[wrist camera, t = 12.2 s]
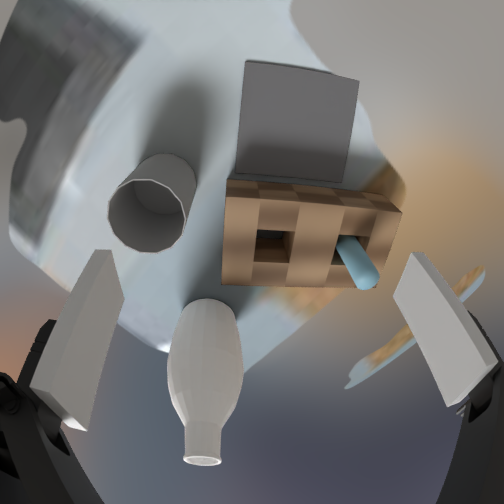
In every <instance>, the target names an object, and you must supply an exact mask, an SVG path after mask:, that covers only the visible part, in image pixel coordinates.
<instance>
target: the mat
mask: <svg viewBox="0 0 504 504" xmlns="http://www.w3.org/2000/svg"><path fill="white" fill-rule="evenodd" d="M358 88H359V81H357V80H354V79H349V78H345V77H341V76H337V75H332V74H327V73H322V72H317V71H312V70H306V69H300V68H294V67H287V66H280V65H272V64H263V63H253V62H245V69H244V79H243V90H242V100H241V111H240V122H239V133H238V145H237V157H236V169H235V173H245V174H259V175H272V176H283V177H294V178H304V179H313V180H322V181H330V182H338V183H342V178H343V173H344V168H345V163H346V158H347V153H348V148H349V142H350V137H351V131H352V126H353V120H354V114H355V108H356V101H357V95H358Z"/></svg>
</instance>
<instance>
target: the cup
mask: <svg viewBox="0 0 504 504" xmlns="http://www.w3.org/2000/svg"><path fill="white" fill-rule="evenodd" d="M196 186H197V183H196V179H195V175H194V171H193V170H192V168H191V167H190V166H189V165H188V163H187V162H186V161H185V160H184V159H182V158H180V157H177V156H175V155H173V154H155V155H153V156H151V157H149V158H147V159H145V160H144V161H143V162H142V163H141V164H140V165H139V166H138V167H137V168H136V169H135V170H134V171H133V172H132V173H131V174H130V175H129V176H128V177H127V178H126V179H125V180H124V181H123V182H122V183H121V184H120V185H119V186H118V187H117V189H116V190H115V192H114V193H113V195H112V196H111V198H110V200H109V201H108V210H107V220H108V222H109V225H110V228H111V230H112V233H113V234H114V235H115V236H116V238H117V239H118V240H119V241H120V242H121V243H122V244H123V245H124V246H126V247H128V248H130V249H132V250H134V251H137V252H139V253H150V254H158V253H160V252H163V251H165V250H168V249H170V248H172V247H173V246H174V245H175V244H176V243H177V241H178V240H179V239H180V238H181V237H182V236H183V232H184V229H185V225H186V222H187V218H188V215H189V211H190V208H191V205H192V201H193V198H194V194H195V190H196Z"/></svg>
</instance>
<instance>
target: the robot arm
mask: <svg viewBox="0 0 504 504" xmlns="http://www.w3.org/2000/svg"><path fill="white" fill-rule="evenodd" d="M393 298H394V300H395V301H396V303H397V305H398V307H399V309H400V310H401V312H402V314H403V316H404V318H405V320H406V322H407V323H408V325H409V327H410V329H411V331H412V333H413V335H414V337H415V339H416V341H417V343H418V345H419V346H420V349H421V351H422V353H423V355H424V357H425V359H426V361H427V363H428V365H429V367H430V369H431V371H432V374H433V376H434V378H435V380H436V382H437V385H438V387H439V389H440V392H441V394H442V396H443V399H444V401H445V403H446V406H447V407H448V406H451V405H453V404H456V403H459V402H460V401H461V400H462V399H463V398H464V397H465V396H467V395H469V397H470V399H469V400H468V401H467V402H466V403H465V404H464V405H462V406H461V407H460V408H459V409H458V410H457V412H456V414H459V413H460V412H461V411H462V410H464V409H465V411H464V412H463V413H462V414H461V416H462V417H463V420H462V425H461V429H460V433H459V437H458V441H457V444H456V448H455V451H454V455H453V458H452V461H451V465H450V467H449V471H448V474H447V476H446V479H445V482H444V485H443V487H442V490H441V492H440V495H439V498H438V500H437V502H436V504H504V362H503V361H502V359H501V357H500V356H499V354H498V352H497V350H496V349H495V347H494V345H493V344H492V342H491V340H490V339H489V337H488V336H486V332H485V331H484V329H482V326H481V325H480V323H479V322H478V320H477V319H476V318H475V317H474V316H473V315H472V314H471V313H470V312H469V311H467V310H466V309H465V307H464V306H463V304H462V303H461V301H460V300H459V299H458V297H457V296H456V294H455V293H454V292H453V290H452V289H451V287H450V286H449V285H448V284H447V282H446V281H445V279H444V278H443V277H442V276H441V274H440V273H439V271H437V269H436V268H435V266H434V265H433V264H432V262H431V261H430V260H429V259H428V257H427V256H426V255H425V254H424V253H423V252H411V254H410V257H409V259H408V262H407V264H406V267H405V269H404V272H403V274H402V277H401V279H400V281H399V284H398V286H397V288H396V291H395V293H394V295H393ZM123 302H124V296H123V292H122V289H121V285H120V282H119V278H118V275H117V271H116V267H115V263H114V259H113V255H112V251H111V250H95V251H94V253H93V254H92V256H91V258H90V259H89V261H88V263H87V265H86V266H85V268H84V270H83V272H82V273H81V275H80V277H79V279H78V281H77V282H76V284H75V286H74V288H73V290H72V292H71V294H70V296H69V298H68V300H67V301H66V303H65V306H64V307H63V309H62V311H61V313H60V315H59V318H58V320H51V319H49V320H48V321H47V322H46V323H45V324H44V325H43V326H42V327H41V328H40V330H39V332H38V334H37V336H36V338H35V343H33V345H32V347H31V349H30V350H31V352H29V354H28V356H27V358H26V361H25V363H24V365H23V368H22V370H21V373H20V375H19V378H18V381H17V383H15V382H14V381H13V379H12V378H11V377H10V376H9V375H7V374H6V373H2V372H0V504H104V502H103V501H102V499H101V498H100V496H99V495H98V493H97V492H96V490H95V488H94V487H93V485H92V484H91V482H90V480H89V479H88V477H87V476H86V474H85V472H84V470H83V469H82V467H81V465H80V463H79V462H78V460H77V458H76V456H75V454H74V453H73V450H72V448H71V446H70V445H69V442H68V440H67V438H66V436H65V434H64V432H63V431H62V429H61V428H60V425H61V421H63V422H64V423H66V424H67V425H68V426H69V427H72V428H76V429H80V430H84V431H88V426H89V422H90V417H91V413H92V408H93V404H94V400H95V396H96V392H97V388H98V384H99V380H100V376H101V372H102V369H103V365H104V362H105V358H106V355H107V352H108V348H109V345H110V341H111V338H112V335H113V332H114V329H115V326H116V323H117V320H118V317H119V314H120V311H121V308H122V305H123Z"/></svg>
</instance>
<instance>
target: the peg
mask: <svg viewBox="0 0 504 504" xmlns="http://www.w3.org/2000/svg"><path fill="white" fill-rule="evenodd" d="M336 249H337V251H338V252H339V254H340V256H341V258H342V260H343V262H344V264H345V265H346V267H347V269H348V271H349V273H350V275H351V277H352V279H353V281H354V283H355V284H356V286H357V288H359V289H361V290H367V289H370V288H372V287H373V286H375V285H376V283H377V282H378V280H379V277H380V275H379V272H378V270H377V269H376V267H375V266H374V264H373V263H372V261H371V260H370V258H369V257H368V255H367V254H366V252H365V251H364V249H363V248H362V246H361V245H360V243H359V242H358V240H357V239H356V237H355V236H354V235H341V234H339V235H338V239H337V243H336Z"/></svg>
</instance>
